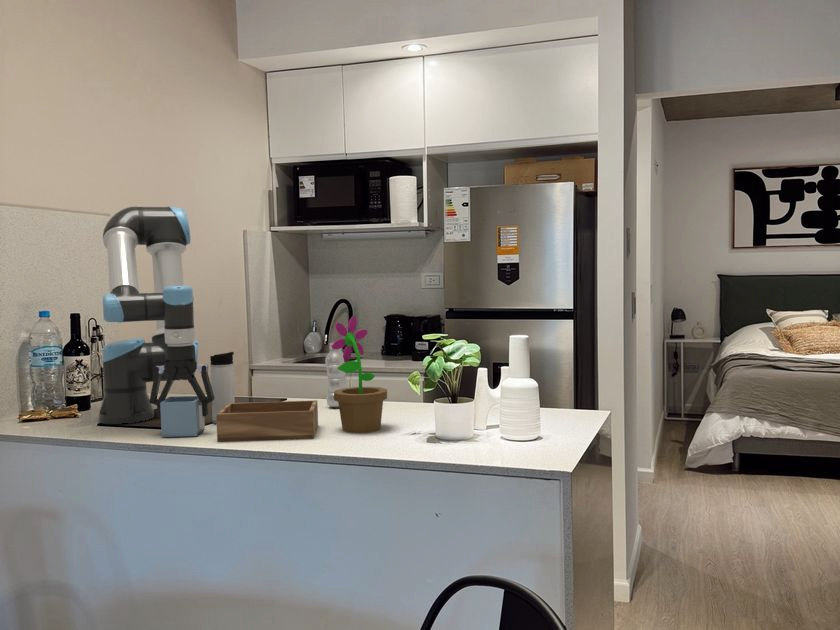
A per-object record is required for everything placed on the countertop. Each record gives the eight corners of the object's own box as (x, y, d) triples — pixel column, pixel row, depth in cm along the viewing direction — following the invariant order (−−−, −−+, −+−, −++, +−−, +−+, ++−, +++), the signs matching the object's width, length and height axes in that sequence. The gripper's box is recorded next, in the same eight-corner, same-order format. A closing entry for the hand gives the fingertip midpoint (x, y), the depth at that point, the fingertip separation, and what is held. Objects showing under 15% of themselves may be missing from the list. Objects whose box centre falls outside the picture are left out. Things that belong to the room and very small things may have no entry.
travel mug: (230, 424, 215) (227, 353, 213) (208, 424, 216) (205, 353, 215) (240, 420, 221) (237, 350, 219) (218, 419, 222) (216, 350, 221)
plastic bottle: (347, 409, 235) (345, 343, 234) (325, 409, 235) (323, 344, 234) (349, 405, 241) (347, 341, 240) (328, 405, 241) (326, 342, 240)
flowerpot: (364, 421, 216) (361, 314, 214) (399, 428, 206) (397, 315, 204) (323, 429, 206) (320, 317, 204) (358, 437, 196) (355, 319, 194)
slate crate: (170, 429, 208) (169, 396, 208) (204, 428, 209) (203, 395, 208) (161, 437, 199) (160, 402, 199) (196, 436, 200) (195, 401, 199)
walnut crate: (229, 428, 210) (228, 403, 209) (318, 425, 211) (317, 400, 210) (217, 441, 194) (216, 414, 193) (313, 438, 195) (312, 411, 195)
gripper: (133, 347, 198) (137, 433, 200) (219, 345, 199) (222, 431, 201) (142, 344, 206) (145, 427, 207) (224, 342, 207) (227, 424, 208)
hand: (183, 429), depth 204 cm, fingers closed on slate crate, 9 cm apart
